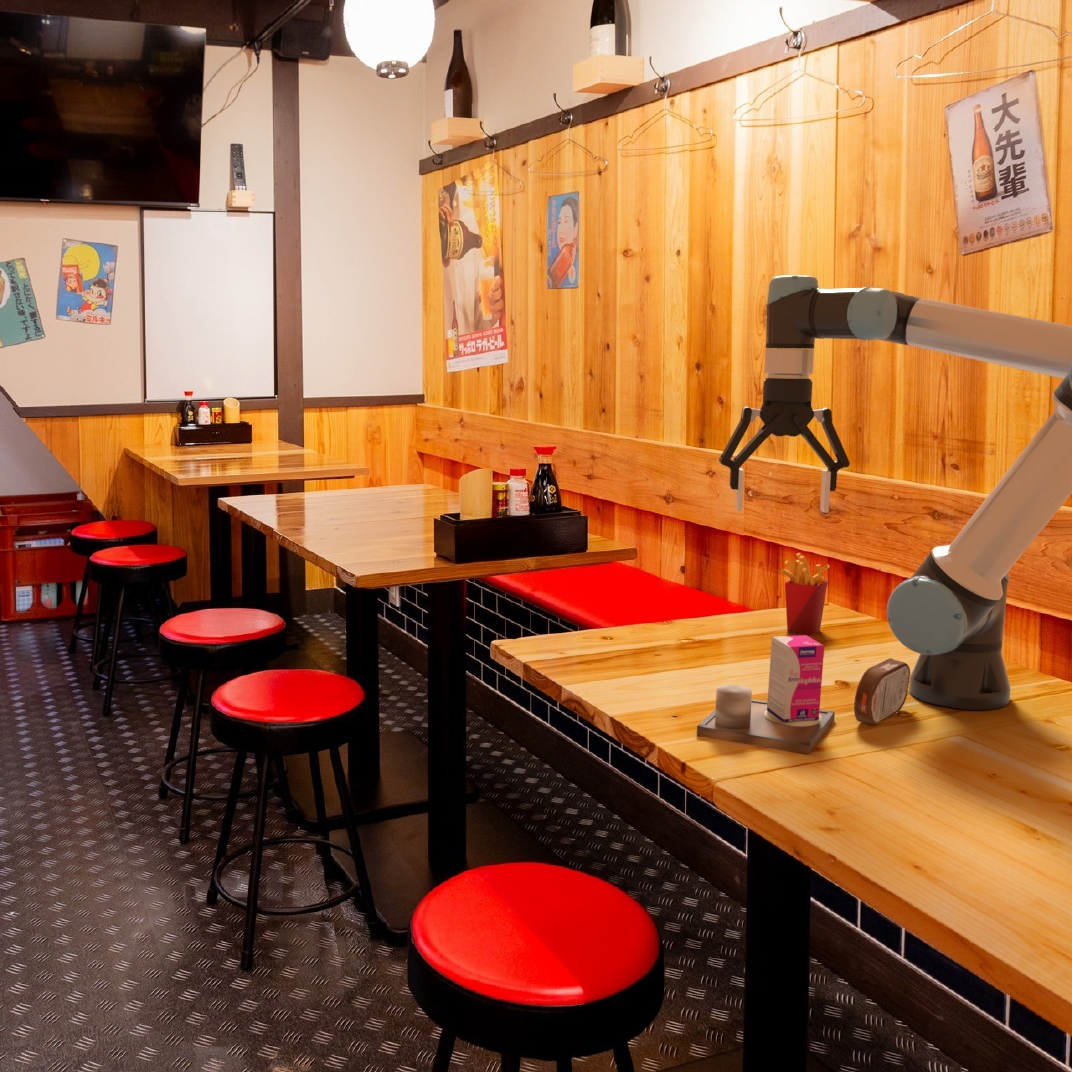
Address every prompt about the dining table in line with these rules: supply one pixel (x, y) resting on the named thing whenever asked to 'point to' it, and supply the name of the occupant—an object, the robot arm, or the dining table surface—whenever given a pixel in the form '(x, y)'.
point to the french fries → (804, 596)
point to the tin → (881, 691)
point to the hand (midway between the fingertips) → (781, 511)
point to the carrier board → (760, 723)
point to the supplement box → (795, 678)
